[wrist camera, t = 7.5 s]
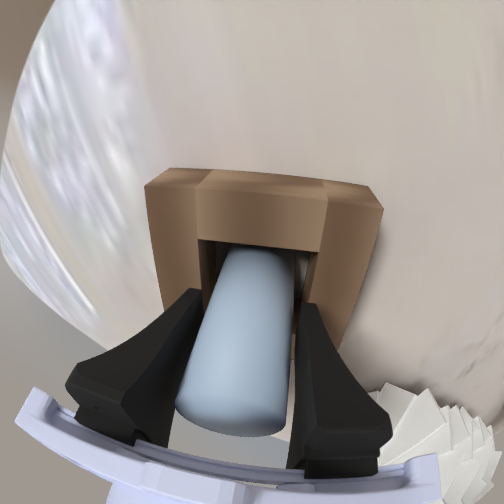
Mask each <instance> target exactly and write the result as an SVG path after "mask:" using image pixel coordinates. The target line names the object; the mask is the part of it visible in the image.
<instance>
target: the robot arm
mask: <svg viewBox="0 0 504 504" xmlns="http://www.w3.org/2000/svg"><path fill="white" fill-rule="evenodd" d="M203 318H204V310H203V300H202V289H195V288H188V289H187V290H186V291H185V292H184V293H183V294H182V295H181V296H180V297H179V298H178V299H177V300H176V301H175V302H174V303H173V304H172V305H171V306H170V307H169V308H168V309H167V310H166V311H165V312H163V313H162V314H161V315H160V316H159V317H158V318H157V319H156V320H154V321H153V322H152V323H151V324H150V325H148V326H147V327H146V328H144V329H143V330H142V331H140V332H139V333H138V334H136V335H135V336H133V337H132V338H130V339H129V340H127V341H125V342H124V343H122V344H120V345H119V346H117V347H115V348H113V349H111V350H109V351H107V352H105V353H103V354H101V355H98V356H96V357H93V358H91V359H88V360H85V361H82V362H80V363H77V365H76V366H75V368H74V369H73V371H72V373H71V375H70V376H69V378H68V380H67V382H66V384H65V387H66V390H67V391H68V393H69V394H70V395H71V396H72V397H73V399H74V400H75V401H76V402H77V403H78V404H79V405H80V406H79V408H78V411H77V412H76V413H74V412H72V411H70V410H68V409H67V408H65V407H62V406H61V405H59V404H58V402H57V401H56V400H55V399H54V398H53V397H51V396H50V395H49V394H47V393H45V392H44V391H42V390H40V389H39V388H37V387H33V389H32V391H31V393H30V394H29V396H28V398H27V400H26V401H25V403H24V405H23V407H22V409H21V410H20V412H19V414H18V416H17V418H16V420H15V423H16V424H17V425H18V426H20V427H21V428H22V429H23V430H25V431H26V432H27V433H28V434H30V435H31V436H32V437H34V438H35V439H36V440H38V441H39V442H40V443H42V444H43V445H45V446H46V447H48V448H49V449H51V450H53V451H54V452H56V453H57V454H59V455H61V456H62V457H64V458H66V459H67V460H69V461H71V462H73V463H74V464H76V465H78V466H80V467H82V468H83V469H86V470H87V471H89V472H91V473H93V474H95V475H97V476H99V477H101V478H103V479H105V480H108V481H110V482H112V483H113V484H112V487H111V489H110V492H109V495H108V498H107V501H106V504H428V503H431V502H434V501H437V500H439V499H441V498H442V495H441V482H440V472H439V464H438V456H437V453H431V454H426V455H421V456H417V457H413V458H411V459H409V460H407V461H406V462H405V463H401V464H395V465H388V466H379V467H378V458H377V457H380V448H381V447H382V446H384V445H385V444H386V443H387V442H389V440H390V439H391V438H392V437H393V428H392V423H391V420H390V416H389V414H388V413H387V412H386V411H385V410H384V409H383V408H382V407H381V406H380V405H378V404H377V403H376V402H375V401H374V400H373V399H372V398H371V397H370V395H369V394H368V393H367V392H366V391H365V390H364V389H363V387H362V386H361V385H360V384H359V383H358V381H357V380H356V379H355V378H354V376H353V375H352V374H351V372H350V371H349V369H348V368H347V366H346V365H345V363H344V362H343V360H342V359H341V357H340V355H339V353H338V352H337V350H336V348H335V346H334V344H333V342H332V340H331V338H330V336H329V334H328V332H327V330H326V328H325V325H324V323H323V320H322V318H321V315H320V313H319V310H318V307H317V305H316V303H308V302H302V306H301V310H300V315H299V320H298V324H297V328H296V335H295V348H294V358H295V404H294V414H293V423H292V431H291V439H290V446H289V452H288V459H287V465H286V469H280V468H268V467H258V466H250V465H242V464H236V463H230V462H224V461H218V460H213V459H208V458H203V457H198V456H194V455H190V454H186V453H182V452H178V451H174V450H171V449H167V448H168V442H169V436H170V431H171V425H172V421H173V416H174V411H175V406H174V402H175V399H176V396H177V393H178V390H179V387H180V384H181V381H182V378H183V375H184V372H185V369H186V367H187V364H188V361H189V358H190V355H191V352H192V349H193V347H194V344H195V341H196V338H197V335H198V332H199V330H200V327H201V324H202V321H203ZM148 459H150V460H153V461H156V462H152V461H150V460H148ZM157 462H159V463H157ZM161 463H162V464H161ZM168 465H169V466H168ZM175 467H176V468H175ZM179 468H180V469H179ZM195 472H196V473H195ZM199 473H200V474H199ZM204 474H205V475H204ZM208 475H209V476H208ZM213 476H214V477H213ZM219 477H220V478H219ZM224 478H225V479H224ZM229 479H231V480H229ZM234 480H238V481H246V482H253V483H263V484H273V485H278V486H277V487H276V489H273V488H266V487H260V486H253V485H248V484H244V483H241V482H237V481H234Z"/></svg>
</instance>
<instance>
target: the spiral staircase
mask: <svg viewBox="0 0 504 504" xmlns="http://www.w3.org/2000/svg"><path fill="white" fill-rule="evenodd" d="M368 394H369V395H370V397H371V398H372V399H373V400H374V401H375V402H376V403H377V404H378V405H380V406H381V407H382V408H383V409H384V410H385V411H386V412H387V413H388V414H389V416H390V420H391V423H392V428H393V437H392V438H391V439H390V440H389V442H387V443H386V444H385V445H384V446H382V447H381V448H380V457H377V458H378V467H379V466H388V465H395V464H401V463H405V462H406V461H407V460H409V459H411V458H413V457H417V456H421V455H426V454H431V453H437V456H438V464H439V472H440V482H441V495H442V498H441V499H439V500H437V501H434V502H431V503H428V504H475V503H476V502H477V501H478V500H479V499H480V498H481V497H482V496H484V495H485V494H486V493H487V492H488V491H489V490H490V489H491V488H492V487H493V486H494V484H493V483H492V481H491V478H492V476H493V473H494V471H495V469H496V466H497V464H498V462H499V459H500V456H501V454H502V452H498V451H495V445H494V436H493V429H492V425H490V426H488V427H486V426H485V424H484V422H483V421H482V419H481V417H480V416H477V417H475V418H474V419H473V418H472V417H471V416H470V415H469V413H468V412H467V411H466V409H465V408H464V407H463V406H462V407H461V408H460V409H459V408H458V406H457V405H455V406H454V407H453V408H451V409H450V406H448V405H447V406H445V407H442V408H441V407H439V406H438V404H437V402H436V400H435V398H434V396H433V395H432V393H431V391H430V389H428V388H427V389H425V390H424V391H423V392H422V393H421V394H420V395H419V396H417V395H415V394H413V393H411V392H408V391H406V390H403V389H401V388H399V387H396V386H394V385H392V384H389V383H387V382H386V383H385V385H384V386H383V388H382V390H381V392H379V391H375V392H370V393H368Z"/></svg>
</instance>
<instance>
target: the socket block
mask: <svg viewBox="0 0 504 504" xmlns="http://www.w3.org/2000/svg"><path fill="white" fill-rule="evenodd" d="M144 189H145V198H146V207H147V214H148V222H149V229H150V236H151V243H152V249H153V255H154V261H155V267H156V272H157V277H158V283H159V288H160V293H161V298H162V302H163V307H164V312H165V311H166V310H167V309H168V308H169V307H170V306H171V305H172V304H173V303H174V302H175V301H176V300H177V299H178V298H179V297H180V296H181V295H182V294H183V293H184V292H185V291H186V290H187V289H188V288H195V289H202V300H203V310H204V316H205V313H206V310H207V307H208V305H209V302H210V299H211V296H212V294H213V291H214V288H215V285H216V273H215V243H214V241H222V242H232V243H241V244H250V245H259V246H268V247H278V248H287V249H296V250H304V251H310V256H309V261H308V267H307V272H306V277H305V282H304V288H303V293H302V297H301V300H294V303H293V326H292V345H291V360H295V358H294V348H295V335H296V328H297V324H298V320H299V315H300V310H301V306H302V302H308V303H316V305H317V307H318V310H319V313H320V315H321V318H322V320H323V323H324V325H325V328H326V330H327V332H328V334H329V336H330V338H331V340H332V342H333V344H334V346H335V348H336V350H337V349H338V347H339V345H340V342H341V340H342V337H343V335H344V332H345V330H346V327H347V325H348V322H349V319H350V317H351V314H352V311H353V309H354V306H355V303H356V300H357V297H358V295H359V292H360V289H361V286H362V283H363V280H364V277H365V274H366V271H367V267H368V264H369V261H370V258H371V254H372V251H373V248H374V244H375V241H376V237H377V233H378V230H379V226H380V222H381V218H382V215H383V211H384V208H383V207H382V205H381V204H380V203H379V201H378V200H377V198H376V197H375V195H374V194H373V193H372V191H371V190H370V188H369V187H368V186H364V185H357V184H351V183H344V182H338V181H331V180H323V179H316V178H307V177H299V176H290V175H280V174H270V173H259V172H246V171H232V170H214V169H191V168H169V169H167V170H166V171H164V172H163V173H162V174H160V175H159V176H157V177H156V178H155V179H153V180H152V181H150V182H149V183H148V184H146V185H145V186H144Z"/></svg>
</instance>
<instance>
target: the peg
mask: <svg viewBox="0 0 504 504" xmlns="http://www.w3.org/2000/svg"><path fill="white" fill-rule="evenodd" d="M294 274H295V256H294V252H293V250H292V249H287V248H278V247H268V246H259V245H250V244H241V243H232V244H231V246H230V248H229V251H228V253H227V256H226V259H225V261H224V264H223V267H222V269H221V272H220V275H219V277H218V280H217V283H216V285H215V288H214V291H213V294H212V296H211V299H210V302H209V305H208V307H207V310H206V313H205V316H204V318H203V321H202V324H201V327H200V330H199V332H198V335H197V338H196V341H195V344H194V347H193V349H192V352H191V355H190V358H189V361H188V364H187V367H186V369H185V372H184V375H183V378H182V381H181V384H180V387H179V390H178V393H177V396H176V399H175V402H174V406H175V408H176V410H177V411H178V413H180V415H182V416H183V417H184V418H186V419H187V420H188V421H190V422H192V423H194V424H196V425H198V426H200V427H202V428H205V429H208V430H211V431H214V432H217V433H221V434H226V435H232V436H240V437H260V436H267V435H271V434H275V433H277V432H279V431H281V430H282V429H283V428H284V427H285V424H286V414H287V402H288V390H289V376H290V361H291V345H292V326H293V303H294Z"/></svg>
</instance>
